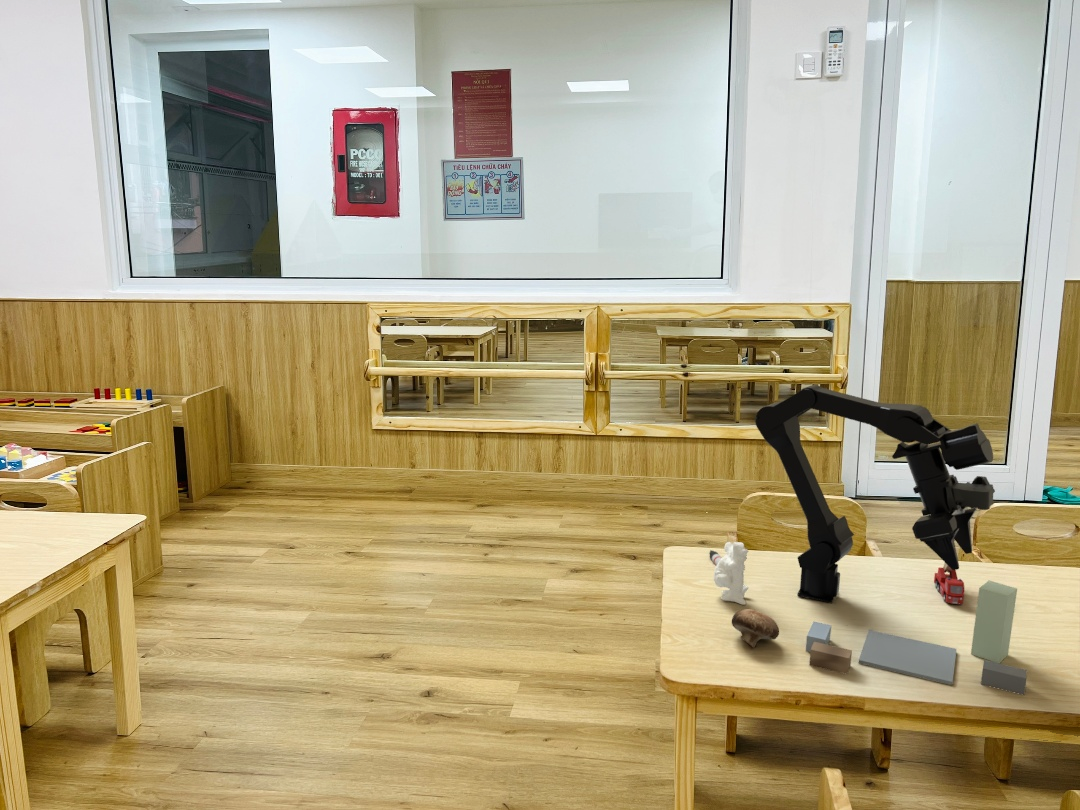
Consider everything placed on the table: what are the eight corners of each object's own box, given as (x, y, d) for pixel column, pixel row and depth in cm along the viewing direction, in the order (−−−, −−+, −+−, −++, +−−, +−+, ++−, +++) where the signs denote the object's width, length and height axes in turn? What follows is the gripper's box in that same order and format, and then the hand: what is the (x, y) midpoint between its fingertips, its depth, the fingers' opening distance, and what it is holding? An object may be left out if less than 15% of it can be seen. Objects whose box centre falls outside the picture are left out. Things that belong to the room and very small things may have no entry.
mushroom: (746, 641, 140) (755, 604, 143) (717, 638, 147) (725, 603, 150) (783, 657, 143) (791, 620, 145) (752, 653, 150) (760, 619, 152)
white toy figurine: (757, 607, 160) (761, 547, 157) (722, 608, 159) (726, 548, 157) (741, 588, 168) (745, 531, 166) (708, 589, 167) (712, 532, 165)
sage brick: (970, 653, 144) (979, 587, 141) (980, 645, 146) (989, 580, 144) (998, 663, 140) (1008, 596, 138) (1008, 654, 143) (1017, 588, 141)
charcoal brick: (980, 685, 134) (982, 668, 134) (981, 677, 137) (983, 660, 136) (1024, 696, 131) (1026, 678, 131) (1024, 687, 134) (1026, 669, 133)
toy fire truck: (945, 605, 162) (951, 557, 160) (928, 576, 175) (933, 532, 173) (964, 607, 161) (970, 559, 159) (946, 578, 174) (951, 533, 172)
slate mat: (858, 663, 140) (858, 659, 140) (868, 632, 150) (868, 629, 150) (952, 685, 134) (952, 681, 134) (956, 652, 144) (956, 648, 144)
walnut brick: (809, 666, 139) (810, 649, 139) (812, 658, 142) (814, 641, 141) (847, 675, 137) (849, 658, 136) (850, 666, 139) (851, 650, 139)
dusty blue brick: (823, 656, 143) (825, 639, 142) (805, 651, 144) (806, 635, 143) (829, 641, 148) (831, 625, 147) (812, 637, 149) (813, 621, 149)
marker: (738, 584, 170) (739, 575, 170) (729, 585, 170) (729, 575, 170) (714, 555, 185) (715, 546, 185) (705, 555, 185) (706, 547, 185)
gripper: (965, 477, 136) (1000, 570, 135) (991, 453, 151) (1023, 537, 150) (897, 492, 144) (930, 581, 143) (928, 468, 158) (958, 548, 157)
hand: (962, 561), depth 148 cm, fingers open, 9 cm apart
